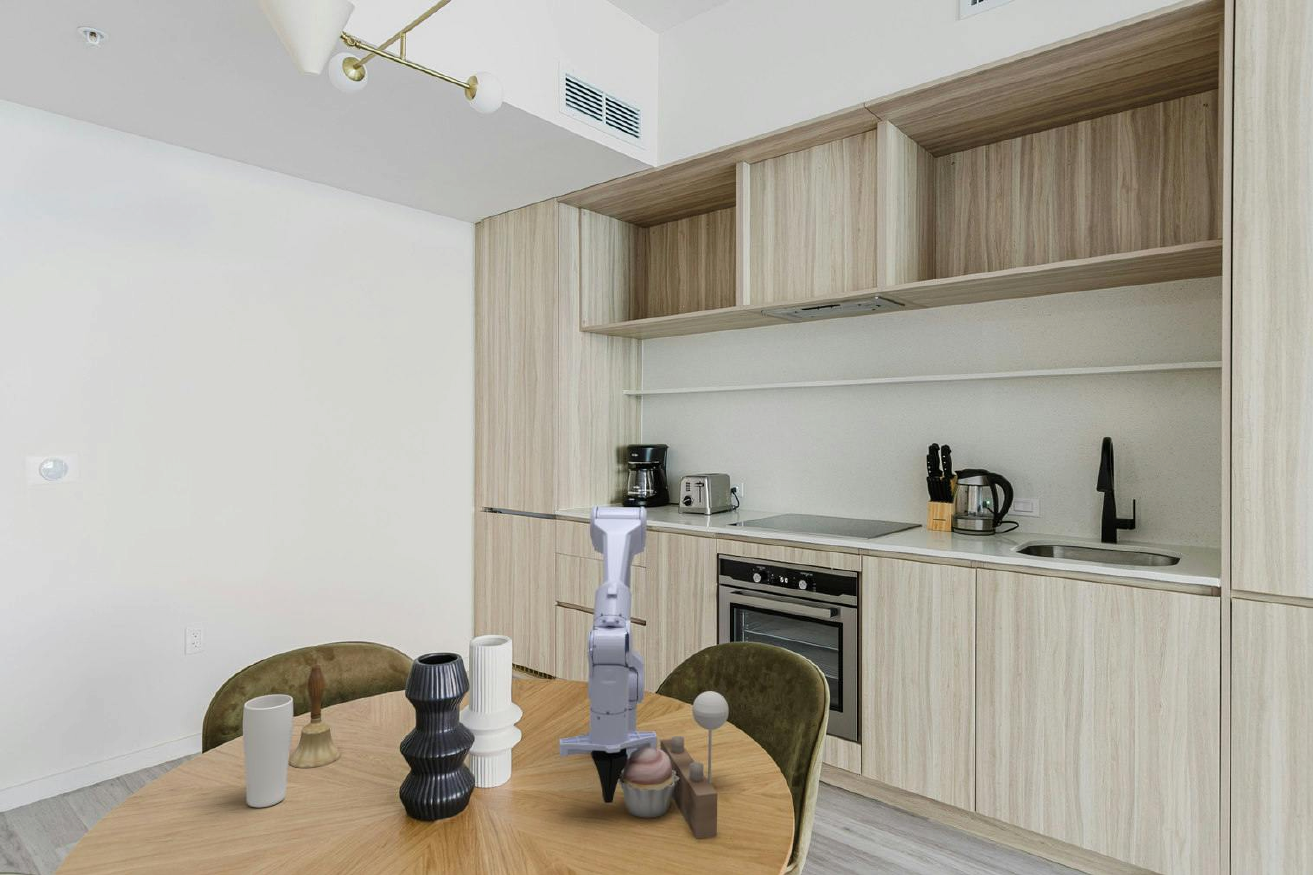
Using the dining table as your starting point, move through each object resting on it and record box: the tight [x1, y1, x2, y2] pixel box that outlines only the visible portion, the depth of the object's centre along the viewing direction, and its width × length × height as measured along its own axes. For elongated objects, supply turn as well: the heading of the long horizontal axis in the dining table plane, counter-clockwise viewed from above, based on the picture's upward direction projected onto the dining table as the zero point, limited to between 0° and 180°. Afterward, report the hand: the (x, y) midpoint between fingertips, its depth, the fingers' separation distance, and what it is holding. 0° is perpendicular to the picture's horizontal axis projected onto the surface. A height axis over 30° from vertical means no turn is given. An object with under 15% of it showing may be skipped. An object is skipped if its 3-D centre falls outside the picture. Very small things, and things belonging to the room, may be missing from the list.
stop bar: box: [659, 735, 718, 840], centre depth 112 cm, size 20×3×8 cm, turn 14°
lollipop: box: [691, 690, 730, 785], centre depth 118 cm, size 6×6×15 cm
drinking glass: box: [242, 693, 294, 808], centre depth 111 cm, size 7×7×15 cm
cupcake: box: [618, 744, 679, 819], centre depth 110 cm, size 9×9×10 cm
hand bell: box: [288, 664, 342, 769], centre depth 126 cm, size 8×8×16 cm
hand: (607, 799), depth 109 cm, fingers closed
